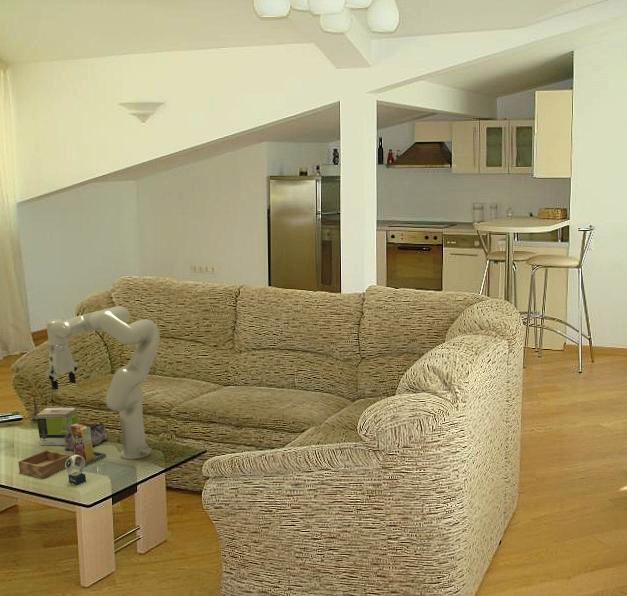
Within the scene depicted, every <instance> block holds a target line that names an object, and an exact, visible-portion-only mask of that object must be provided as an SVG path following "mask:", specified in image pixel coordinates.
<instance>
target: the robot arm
mask: <svg viewBox="0 0 627 596" xmlns="http://www.w3.org/2000/svg"><path fill="white" fill-rule="evenodd" d="M130 318H131V317H130V311H129V310H128V309H127V308H126V307H124V306H122V305H121V306H119V305H118V306H113V307H110V308H105V309H101V310H96V311H93V312H90V313H89V312H88V313H86V314H80V315H77V316H73V317H70V318H69V319H65V320H64V319H62V318H52V319H49V320H48V321H46V331H47V338H48V346H49V347H48V348H47V351H48V352H49V354H48V363H49V368H48V369H47V370H46V371H44V375H45V376H46V378H47V379H49V381H50V382H51V388H52V389H53V390H59V385H58V380H57V378H58V376H63V375H65V374H68V380H69V383H70V384H76V381H77V380H76V376H75V375H76V373H77V369H78V365H79V362H77V361H74V358H73V355H72V351H71V349H70V348H69V346H68V339H69V338H73V337H75V336H77V335H80V334H83V333H86V332H90V331H95V332H103V331H104V332H105V333H107V334H108V335H109V336H111V337H112V338H114V339H115V340H117V341H118V342H119V343H121V344H123V345H125V346H134V345H137V344H138V345H137V346H136V348H134V351H133V353H132V357H131V359H130V360H129V362H128V363H127V364H125V365H123V366H122V367H120V368H118V370H116V372H115V373H114V374H113V377H112V380H111V382H110V385H109V387H108V389H107V392H106V393H107V394H106V397H105V401H106V406H107V407H108V409H109V410H111V411H113V412H119V420H120V429H121V439H122V449H123V450H121V452H120V454H119V455H120V458H121V459H124V460H138V459H143V458H146V457H147V456H149V455H150V454H151V452H152V451H153V448H152V447H149V446H148V443H147V442H146V435H145V434H146V433H145V424H144V413H143V401H144V400H143V399H144V393H143V388H142V387H141V385H140V384H143V383H144V382H145V380H146V379H147V378H148V374H149V373H150V369H151V366H152V365H153V361H154V358H155V356H156V353H157V351H158V348H159V345H160V340H161V339H160V338H161V337H160V336H161V335H160V330H159V328H158V326H157V325H156V323H155V322H154V321H152V320H151V319H148V318H145V319H139V320H136V321H134V322H132V323H129V320H130ZM128 323H129V324H128Z"/></svg>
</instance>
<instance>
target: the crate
mask: <svg viewBox="0 0 627 596" xmlns="http://www.w3.org/2000/svg"><path fill="white" fill-rule="evenodd" d="M70 456H71V454H67V453H62V452H57V451H53V450H48V449H45V450H43V451H40V452H37V453H35V454H33V455H31V456H28V457H26V458H23V459H21V460H19V461H18V470H19V474H21V473H22V475H26V476H30V477H34V476H35V477H36V478H38V477H39V478H40V479H43V480H44V479H47V478H49V477H52V476H53V475H56V474H57V472H58V473H60V472H62V471H64V470H66V469H65V462H66V460H67V459H68V458H70ZM63 469H64V470H63ZM61 470H62V471H61ZM59 471H60V472H59ZM55 473H56V474H55ZM46 477H47V478H46Z"/></svg>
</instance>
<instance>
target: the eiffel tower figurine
mask: <svg viewBox="0 0 627 596" xmlns="http://www.w3.org/2000/svg"><path fill="white" fill-rule="evenodd" d="M33 405H34V410H33V411H34V412H33V414H32V417H27V418H23V419H21V421H25V420H28V419H31V421H30V423H35V422H36V423H38V422H37V414H38V413H40V412H39V410H38V407H37V402H36V397H35V396H33Z"/></svg>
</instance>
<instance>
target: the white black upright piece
mask: <svg viewBox="0 0 627 596" xmlns="http://www.w3.org/2000/svg"><path fill="white" fill-rule="evenodd" d="M72 455H73V456H71V455H70V456H71V457H70V458H68V459H67V460H66V462H65V469H64V470H65V471H66V472H67V474H68V475H67V476H68V483H69V482H70V484H72V483H73V484H72V485H74V484H75V485H74V486H79V485H81V483H82V484H84V483H83V482H85V483H87V478H86V477H87V476H86V474H85V473H83V472H84V470H85V468H86V467H85V460H84V458H83V457H82V456H79V455H74V454H72ZM76 457H80V458H81V461H80V462H81V464H80V466H79V467H78V471H76V472H73V473H72V470H73V469H74V468H75V467H76V466H75V461H76V460H77V459H76Z"/></svg>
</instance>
